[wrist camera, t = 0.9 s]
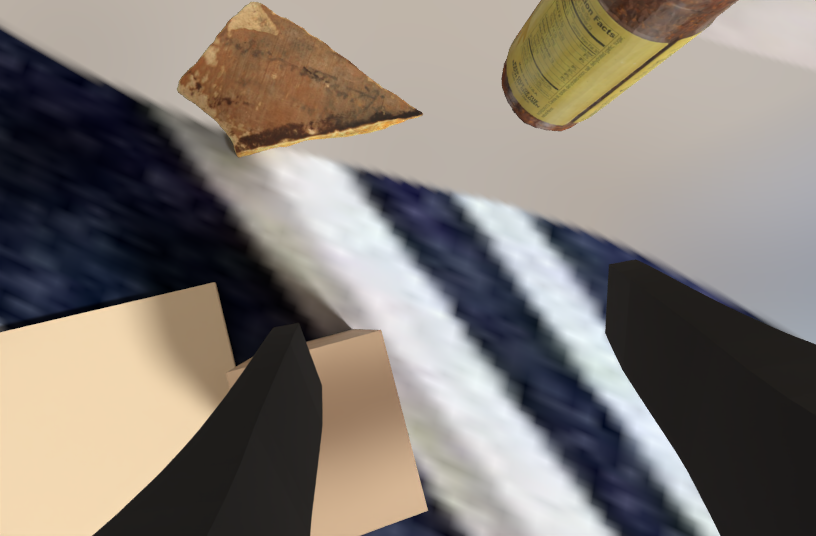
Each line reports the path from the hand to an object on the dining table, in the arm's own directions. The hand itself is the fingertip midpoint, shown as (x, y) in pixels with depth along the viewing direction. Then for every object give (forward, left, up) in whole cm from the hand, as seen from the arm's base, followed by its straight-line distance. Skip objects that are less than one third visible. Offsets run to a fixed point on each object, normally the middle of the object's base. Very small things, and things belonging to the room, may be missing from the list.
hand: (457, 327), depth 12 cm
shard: (+14, 0, -16) cm, 21 cm away
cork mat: (-3, +14, -15) cm, 21 cm away
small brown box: (-3, +3, -15) cm, 16 cm away
